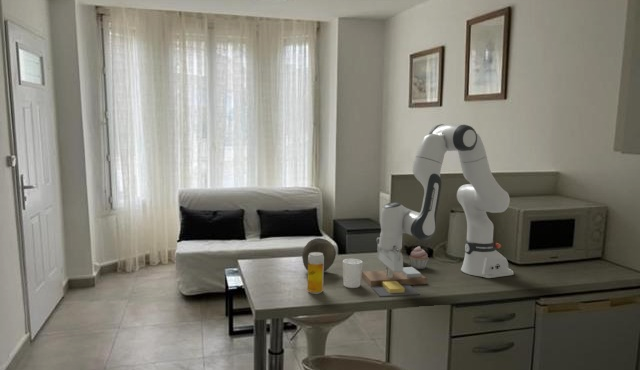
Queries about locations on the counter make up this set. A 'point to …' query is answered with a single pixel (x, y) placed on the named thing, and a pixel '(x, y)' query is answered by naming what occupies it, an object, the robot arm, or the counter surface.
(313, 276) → the pill bottle
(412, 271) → the grey flat block
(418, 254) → the cupcake
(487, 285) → the counter surface
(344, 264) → the white cup
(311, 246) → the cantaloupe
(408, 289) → the mat
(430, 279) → the counter surface
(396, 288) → the card mustard
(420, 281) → the brown wooden flat block
